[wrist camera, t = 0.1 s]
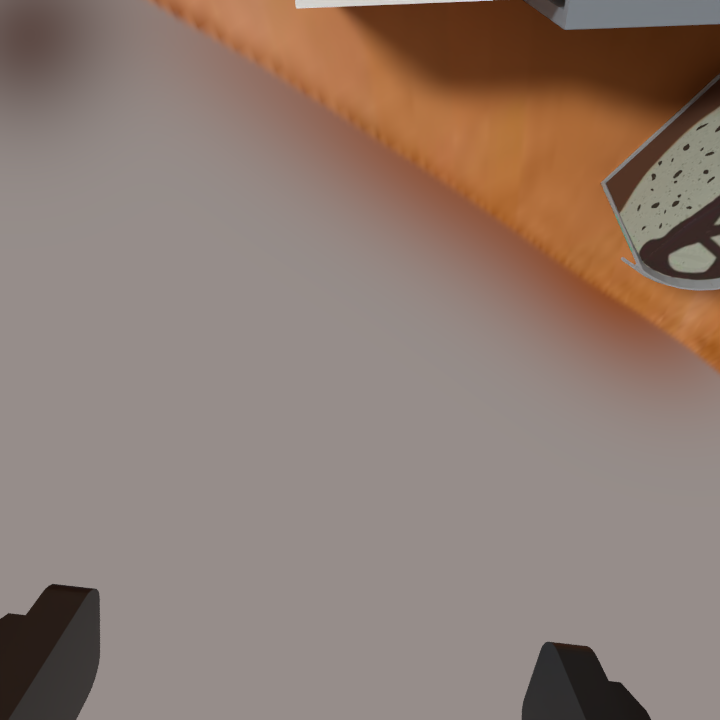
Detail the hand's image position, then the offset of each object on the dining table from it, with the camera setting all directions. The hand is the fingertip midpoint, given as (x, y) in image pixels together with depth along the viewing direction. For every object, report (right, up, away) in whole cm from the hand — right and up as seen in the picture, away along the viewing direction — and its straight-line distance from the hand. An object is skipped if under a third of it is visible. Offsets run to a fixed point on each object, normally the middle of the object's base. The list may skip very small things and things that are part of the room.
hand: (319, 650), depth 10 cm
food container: (+22, +18, +25) cm, 38 cm away
